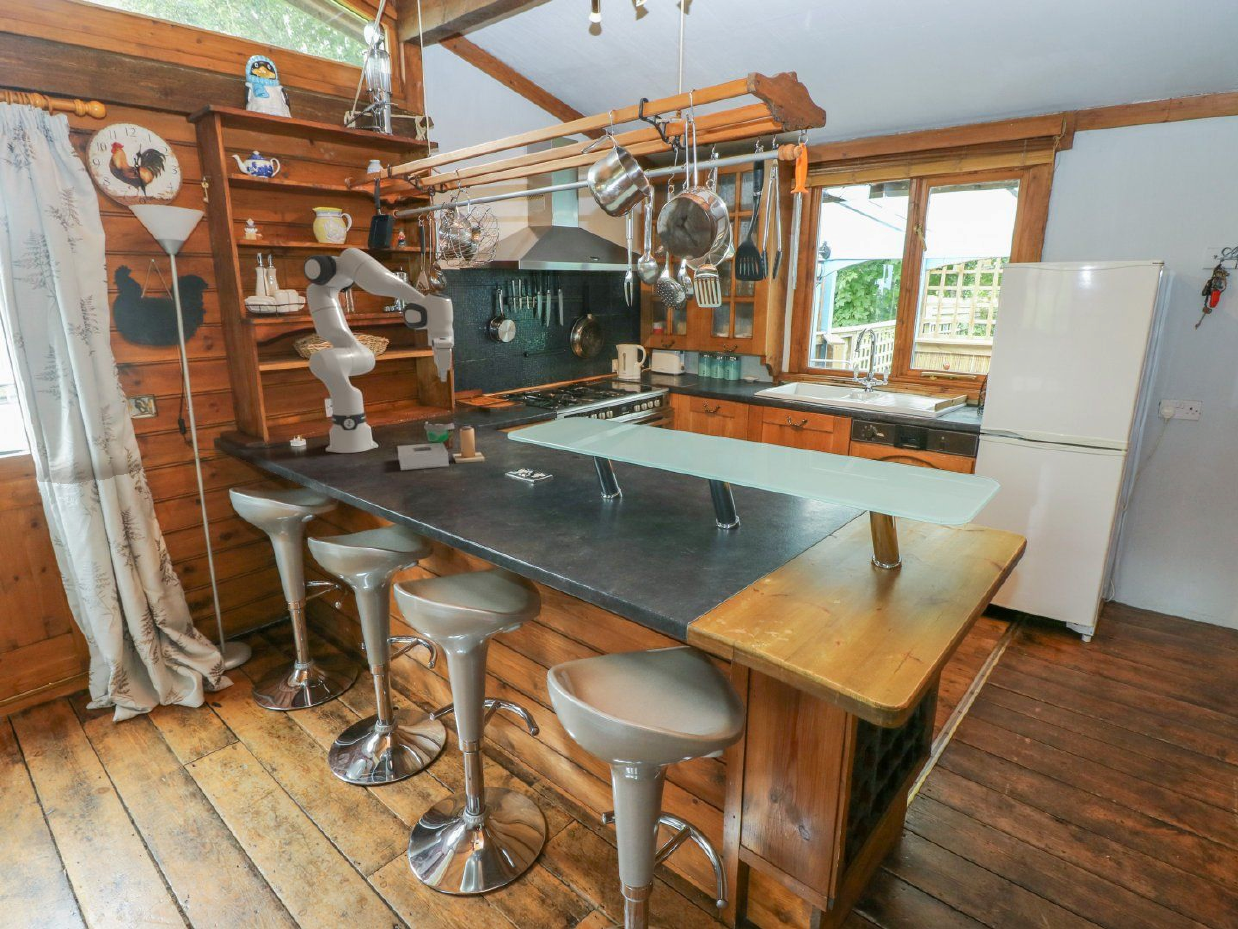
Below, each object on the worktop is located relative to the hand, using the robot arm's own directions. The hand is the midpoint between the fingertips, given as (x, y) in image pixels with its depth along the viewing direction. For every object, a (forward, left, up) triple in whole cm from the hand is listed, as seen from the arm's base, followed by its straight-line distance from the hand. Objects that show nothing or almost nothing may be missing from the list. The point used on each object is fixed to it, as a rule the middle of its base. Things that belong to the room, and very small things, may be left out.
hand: (442, 379), depth 239 cm
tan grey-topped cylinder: (+6, +7, -28) cm, 29 cm away
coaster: (+6, +7, -29) cm, 30 cm away
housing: (+6, -9, -29) cm, 31 cm away
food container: (-14, -2, -29) cm, 32 cm away
